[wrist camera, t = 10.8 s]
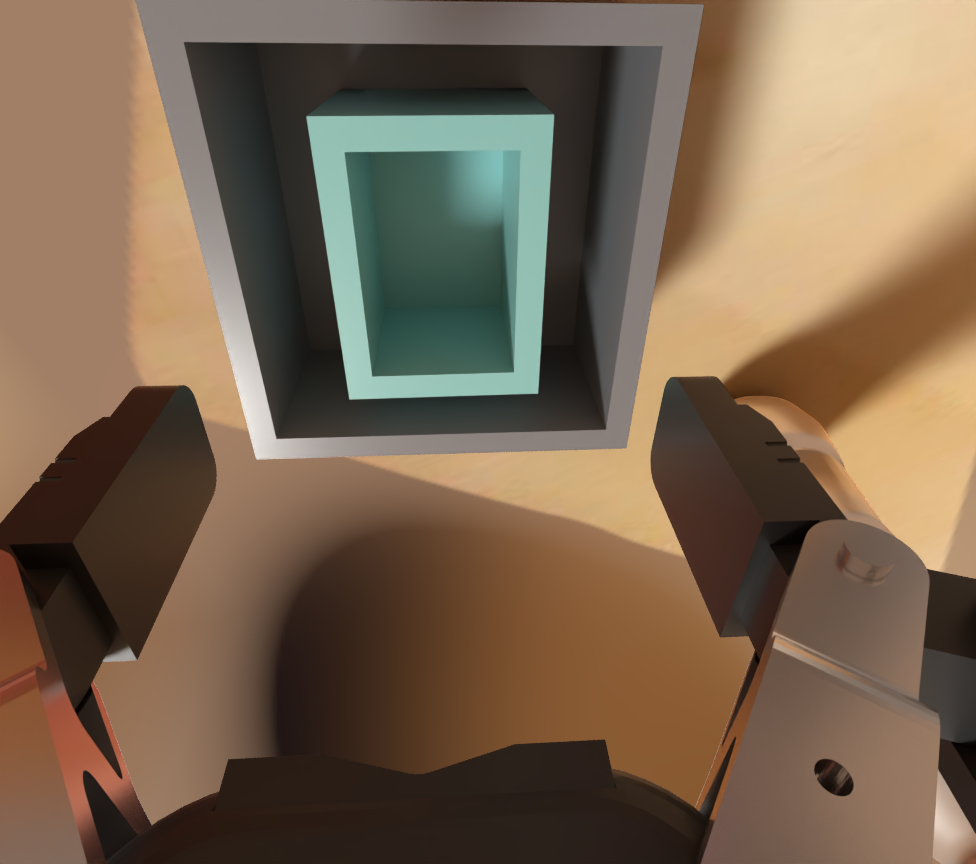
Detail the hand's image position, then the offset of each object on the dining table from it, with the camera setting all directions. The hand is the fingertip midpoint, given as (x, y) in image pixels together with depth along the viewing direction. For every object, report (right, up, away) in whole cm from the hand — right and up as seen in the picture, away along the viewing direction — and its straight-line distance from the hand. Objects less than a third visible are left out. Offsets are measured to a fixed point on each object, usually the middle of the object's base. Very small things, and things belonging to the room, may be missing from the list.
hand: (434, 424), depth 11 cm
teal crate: (-1, +8, +11) cm, 14 cm away
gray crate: (-1, +8, +12) cm, 15 cm away
